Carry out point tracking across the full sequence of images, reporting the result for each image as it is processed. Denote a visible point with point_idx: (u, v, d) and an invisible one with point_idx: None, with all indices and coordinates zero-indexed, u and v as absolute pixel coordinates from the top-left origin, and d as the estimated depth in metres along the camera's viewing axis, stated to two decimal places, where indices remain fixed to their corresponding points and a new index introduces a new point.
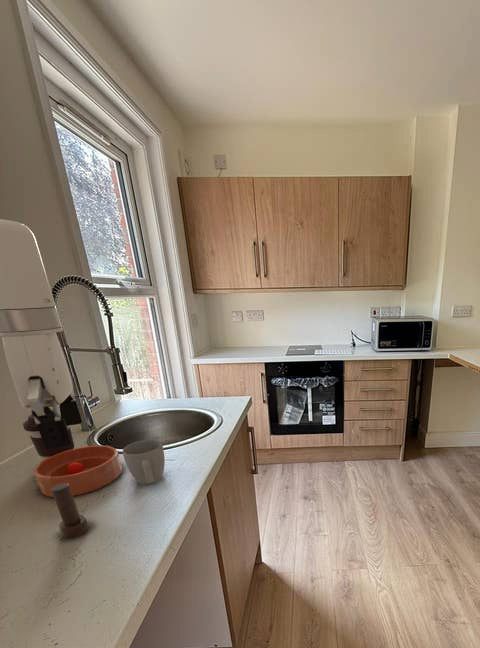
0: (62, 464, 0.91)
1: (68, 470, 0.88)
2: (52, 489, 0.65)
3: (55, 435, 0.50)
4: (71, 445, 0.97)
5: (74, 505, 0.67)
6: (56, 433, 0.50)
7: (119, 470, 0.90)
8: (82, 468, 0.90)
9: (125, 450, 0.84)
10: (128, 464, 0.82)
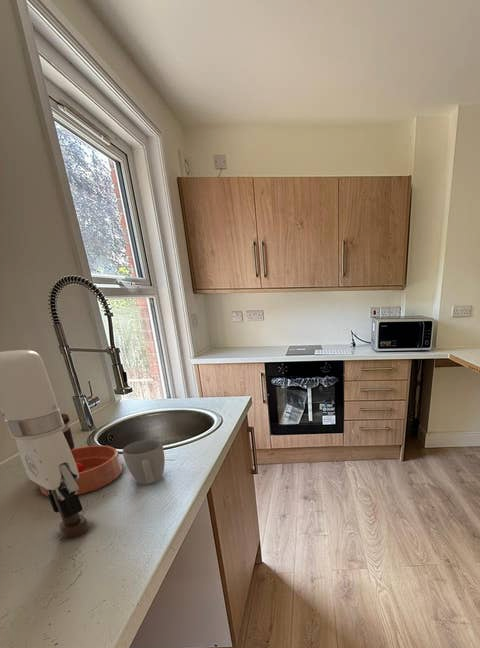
0: None
1: None
2: None
3: (74, 505, 0.66)
4: (71, 445, 0.97)
5: None
6: (75, 503, 0.66)
7: (119, 470, 0.90)
8: (82, 468, 0.90)
9: (125, 450, 0.84)
10: (128, 464, 0.82)
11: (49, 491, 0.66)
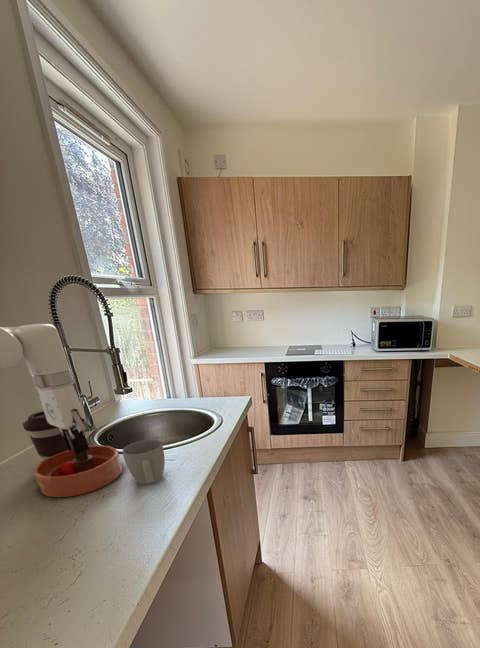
0: None
1: (61, 471, 0.88)
2: (66, 431, 0.86)
3: (82, 444, 0.87)
4: None
5: None
6: (83, 443, 0.87)
7: (119, 470, 0.90)
8: (70, 462, 0.89)
9: (125, 450, 0.84)
10: (128, 464, 0.82)
11: (63, 433, 0.87)
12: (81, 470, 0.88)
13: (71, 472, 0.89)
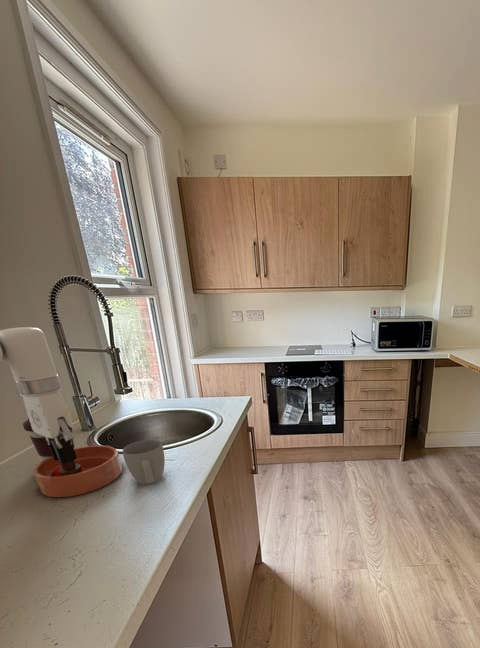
0: None
1: None
2: (52, 440, 0.81)
3: (70, 454, 0.82)
4: None
5: None
6: (70, 452, 0.82)
7: (119, 470, 0.90)
8: None
9: (125, 450, 0.84)
10: (128, 464, 0.82)
11: (50, 442, 0.82)
12: None
13: None
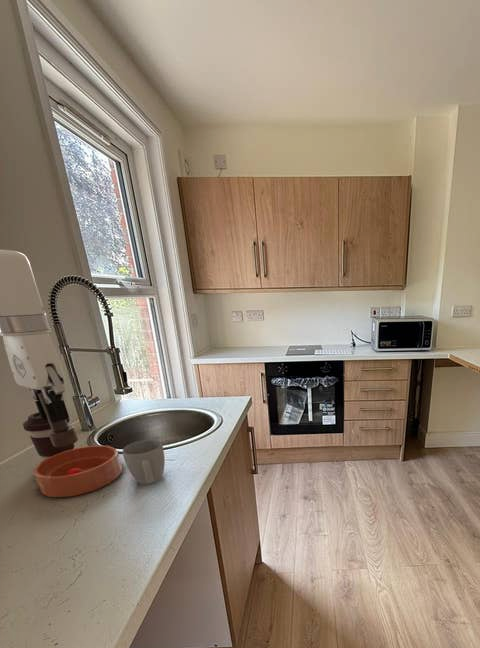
0: (62, 464, 0.91)
1: (76, 472, 0.86)
2: (39, 394, 0.68)
3: (60, 411, 0.69)
4: (71, 445, 0.97)
5: None
6: (61, 409, 0.69)
7: (119, 470, 0.90)
8: None
9: (125, 450, 0.84)
10: (128, 464, 0.82)
11: (36, 397, 0.69)
12: (58, 444, 0.71)
13: None
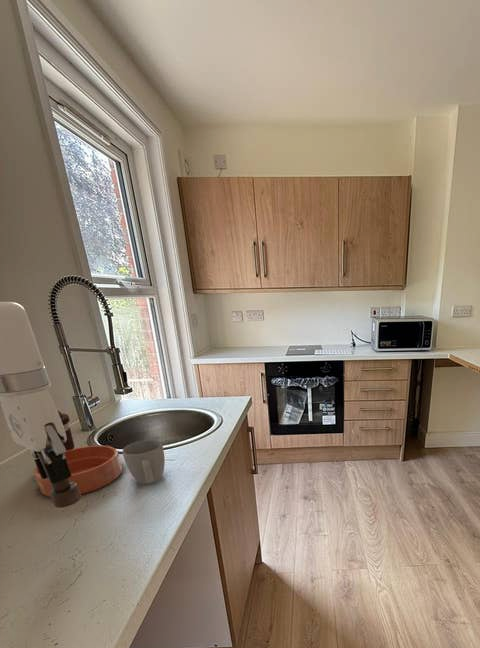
0: None
1: None
2: (38, 453, 0.62)
3: (62, 470, 0.63)
4: (71, 445, 0.97)
5: None
6: (63, 468, 0.63)
7: (119, 470, 0.90)
8: None
9: (125, 450, 0.84)
10: (128, 464, 0.82)
11: (36, 456, 0.63)
12: (60, 504, 0.65)
13: None
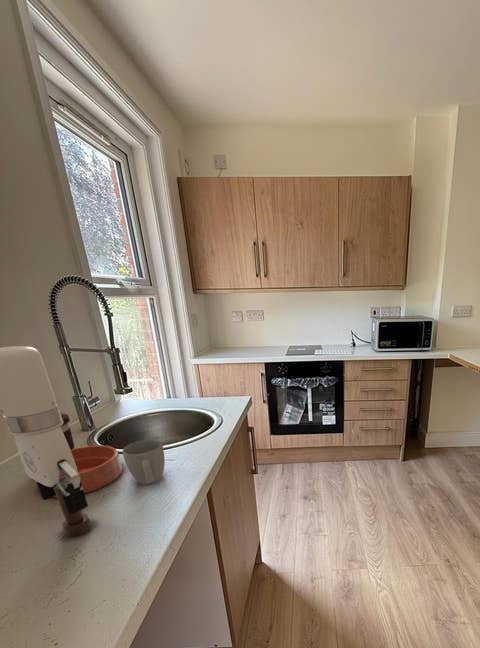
0: None
1: None
2: (55, 488, 0.65)
3: (79, 501, 0.64)
4: (71, 445, 0.97)
5: None
6: (80, 499, 0.64)
7: (119, 470, 0.90)
8: None
9: (125, 450, 0.84)
10: (128, 464, 0.82)
11: None
12: None
13: None
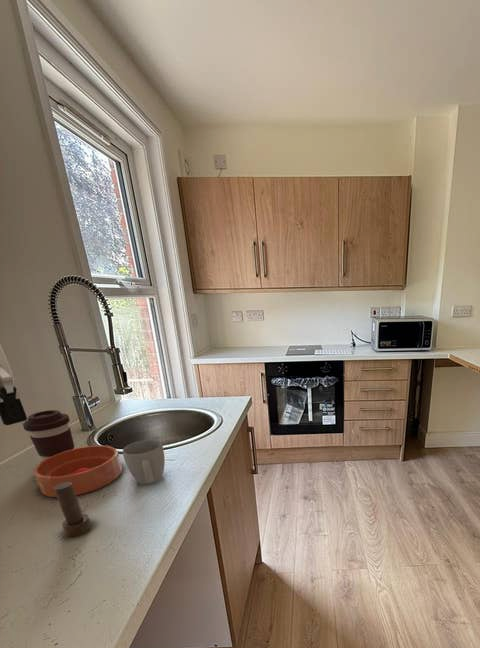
0: (62, 464, 0.91)
1: None
2: (55, 488, 0.65)
3: (15, 411, 0.59)
4: (71, 445, 0.97)
5: (76, 504, 0.68)
6: (16, 409, 0.59)
7: (119, 470, 0.90)
8: None
9: (125, 450, 0.84)
10: (128, 464, 0.82)
11: None
12: None
13: None
